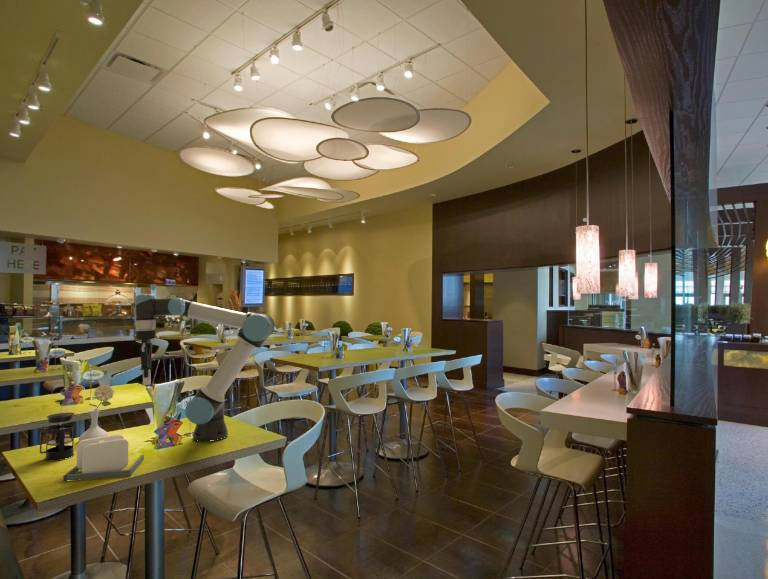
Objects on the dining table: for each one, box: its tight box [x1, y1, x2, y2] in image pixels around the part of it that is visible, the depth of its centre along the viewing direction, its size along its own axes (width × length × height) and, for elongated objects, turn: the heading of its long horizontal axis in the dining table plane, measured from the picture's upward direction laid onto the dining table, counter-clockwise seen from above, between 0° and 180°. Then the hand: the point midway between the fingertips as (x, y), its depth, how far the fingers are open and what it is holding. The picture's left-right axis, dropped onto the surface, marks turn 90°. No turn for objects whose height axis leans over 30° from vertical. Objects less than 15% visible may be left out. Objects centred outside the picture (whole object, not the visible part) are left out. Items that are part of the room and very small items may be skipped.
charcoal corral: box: [62, 454, 145, 482], centre depth 163 cm, size 21×17×2 cm
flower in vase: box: [78, 384, 115, 442], centre depth 201 cm, size 13×11×25 cm
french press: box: [39, 398, 75, 461], centre depth 178 cm, size 12×9×23 cm
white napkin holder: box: [76, 433, 129, 473], centre depth 163 cm, size 15×11×12 cm
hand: (146, 384), depth 190 cm, fingers closed
